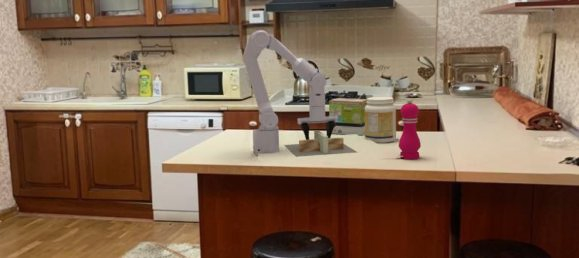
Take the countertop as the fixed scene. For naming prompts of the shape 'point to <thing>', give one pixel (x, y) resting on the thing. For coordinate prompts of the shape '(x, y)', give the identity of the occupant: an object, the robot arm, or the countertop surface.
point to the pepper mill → (409, 132)
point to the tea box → (348, 115)
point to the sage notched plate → (322, 141)
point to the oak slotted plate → (314, 146)
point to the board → (295, 150)
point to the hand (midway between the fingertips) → (318, 142)
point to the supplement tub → (380, 120)
